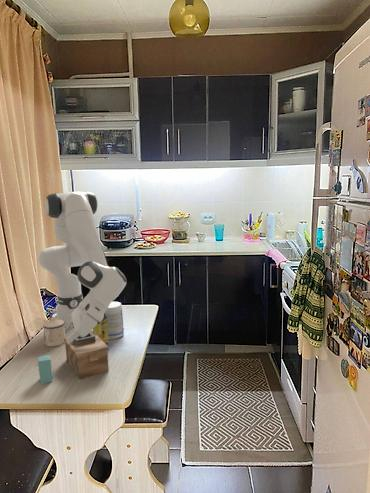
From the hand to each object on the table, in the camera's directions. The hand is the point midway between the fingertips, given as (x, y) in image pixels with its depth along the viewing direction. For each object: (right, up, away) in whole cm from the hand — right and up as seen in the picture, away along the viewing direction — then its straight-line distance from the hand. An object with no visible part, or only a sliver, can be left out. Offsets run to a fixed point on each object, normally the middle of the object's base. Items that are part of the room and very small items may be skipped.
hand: (67, 336), depth 150 cm
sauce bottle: (+7, -10, +28) cm, 31 cm away
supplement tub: (+10, -8, +38) cm, 40 cm away
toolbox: (+5, -14, +10) cm, 18 cm away
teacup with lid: (-15, -10, +31) cm, 36 cm away
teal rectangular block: (-8, -16, 0) cm, 18 cm away
